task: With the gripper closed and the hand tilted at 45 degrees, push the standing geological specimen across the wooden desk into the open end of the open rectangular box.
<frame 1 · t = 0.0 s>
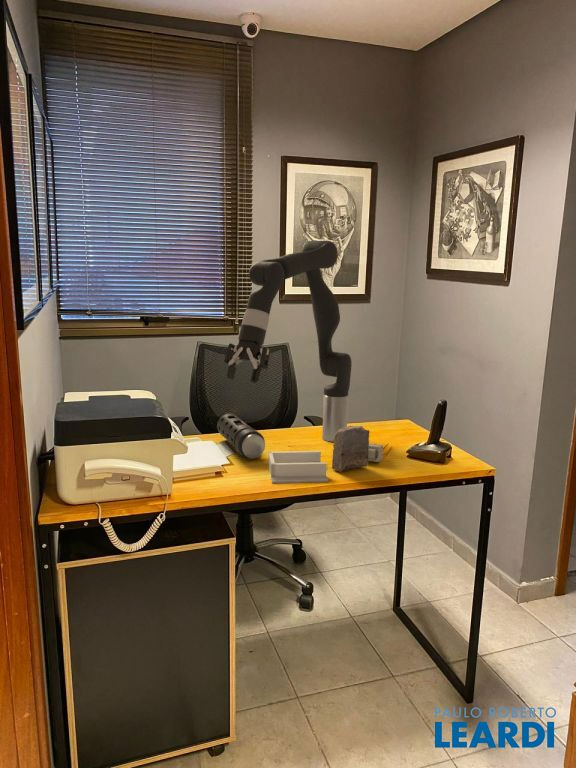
hand: (241, 380, 166), 31 cm above the table, tool tilted 20°, fingers open, 8 cm apart
geological specimen: (350, 470, 186), on the table
open rectangular box: (298, 470, 184), on the table
muzzle brake: (240, 450, 203), on the table
electrical component: (377, 455, 202), on the table
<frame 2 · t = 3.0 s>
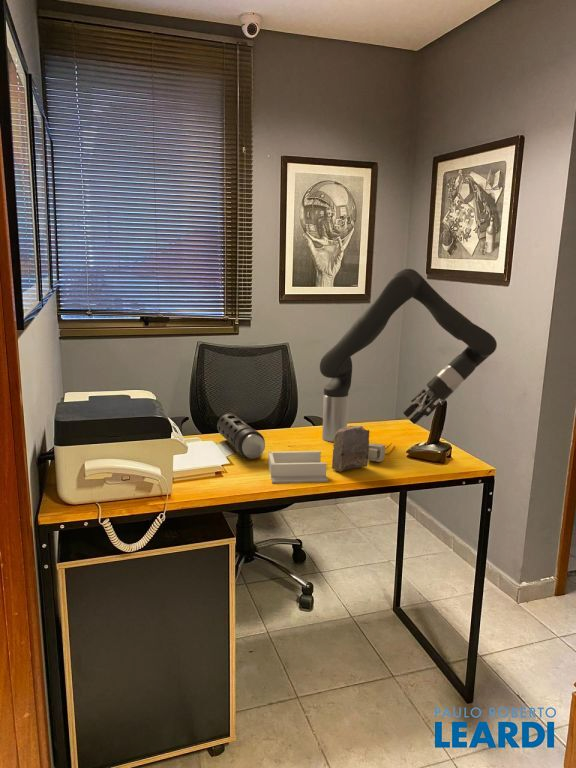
hand: (408, 418, 183), 17 cm above the table, tool tilted 45°, fingers open, 8 cm apart
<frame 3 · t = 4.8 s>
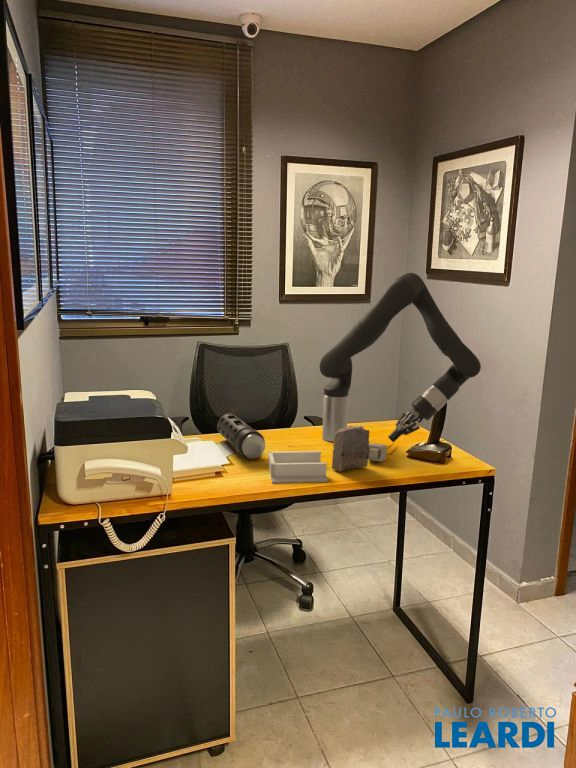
hand: (390, 439, 185), 10 cm above the table, tool tilted 45°, fingers closed
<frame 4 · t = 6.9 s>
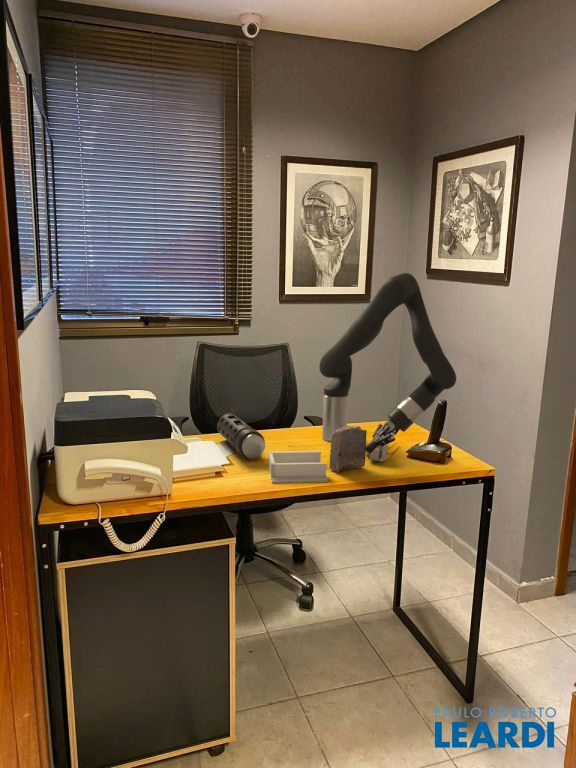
hand: (366, 451, 185), 6 cm above the table, tool tilted 45°, fingers closed
geological specimen: (347, 470, 185), on the table, touching gripper
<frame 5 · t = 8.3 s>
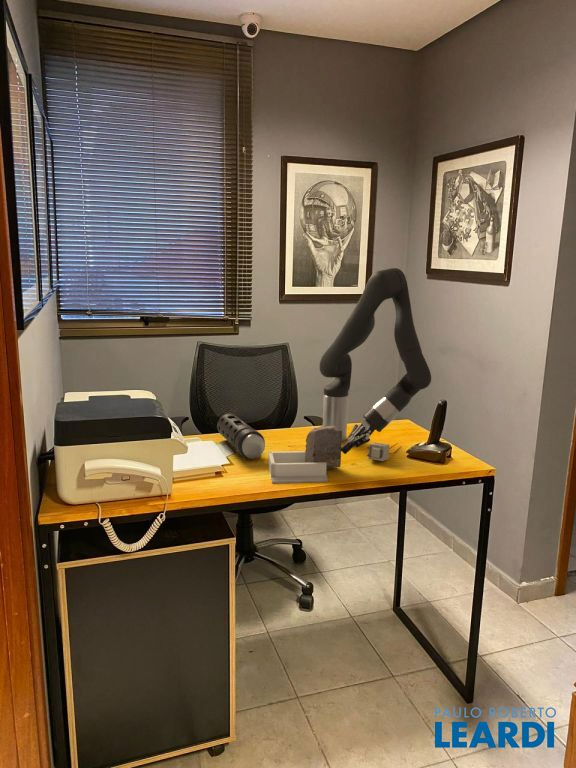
hand: (342, 451, 184), 6 cm above the table, tool tilted 45°, fingers closed
geological specimen: (323, 471, 185), on the table, touching gripper
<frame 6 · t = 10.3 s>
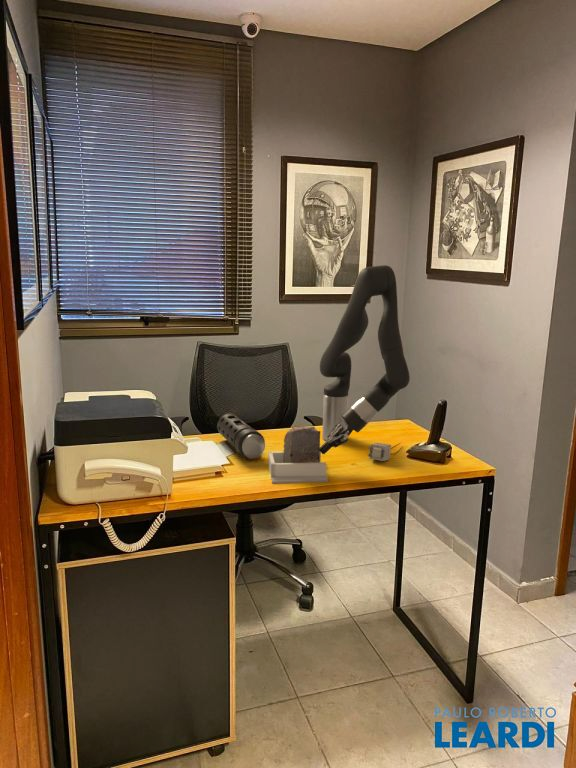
hand: (321, 452, 183), 6 cm above the table, tool tilted 45°, fingers closed
geological specimen: (301, 471, 184), resting in open rectangular box, touching gripper
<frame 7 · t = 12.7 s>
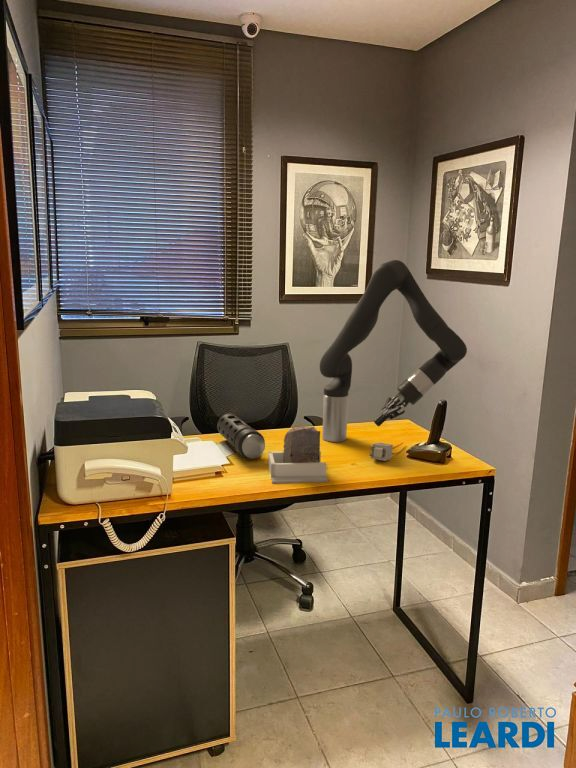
hand: (375, 424, 183), 15 cm above the table, tool tilted 45°, fingers closed
geological specimen: (301, 471, 184), resting in open rectangular box
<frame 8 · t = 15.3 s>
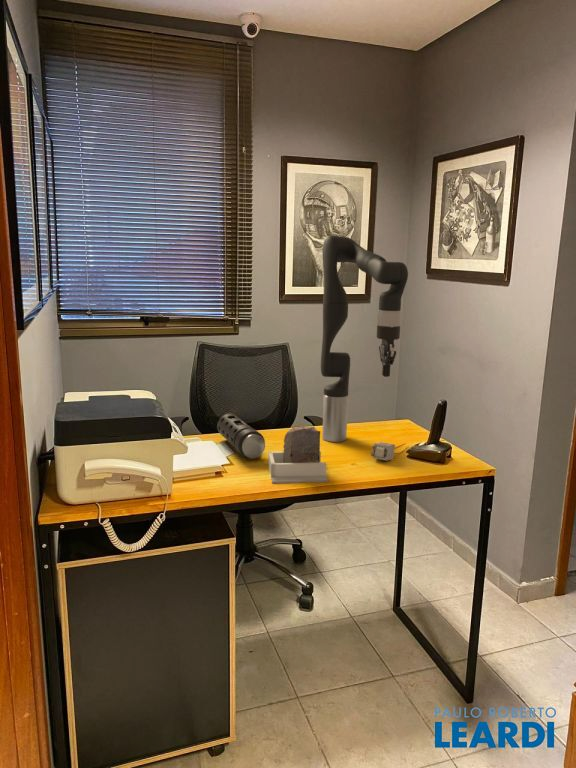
hand: (385, 376, 191), 29 cm above the table, tool pointing down, fingers closed
at the end: geological specimen inside the target area (0.5 cm from its centre), resting in open rectangular box; geological specimen tilted 0° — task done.
